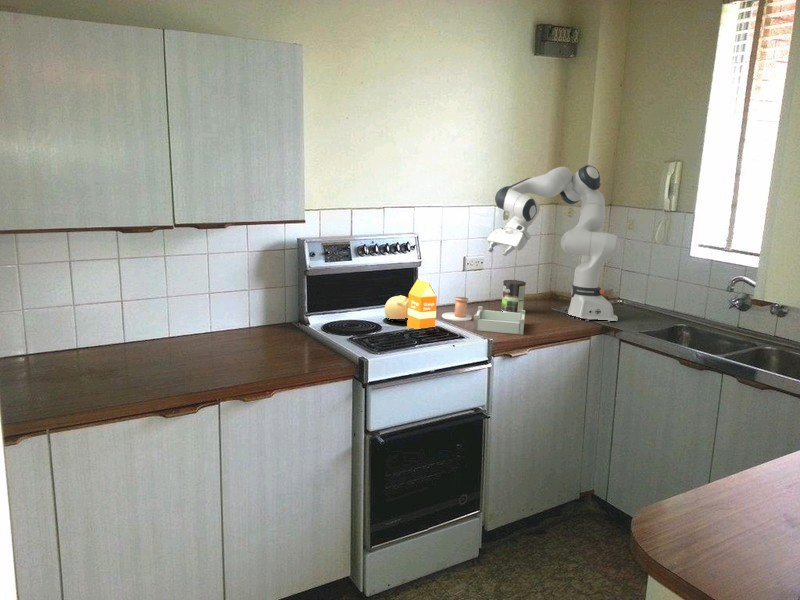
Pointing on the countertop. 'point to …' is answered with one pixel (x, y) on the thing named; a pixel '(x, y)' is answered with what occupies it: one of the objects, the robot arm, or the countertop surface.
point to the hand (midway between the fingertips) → (496, 253)
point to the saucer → (451, 317)
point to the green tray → (499, 321)
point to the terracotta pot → (460, 307)
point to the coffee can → (513, 296)
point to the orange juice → (421, 306)
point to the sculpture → (397, 307)
